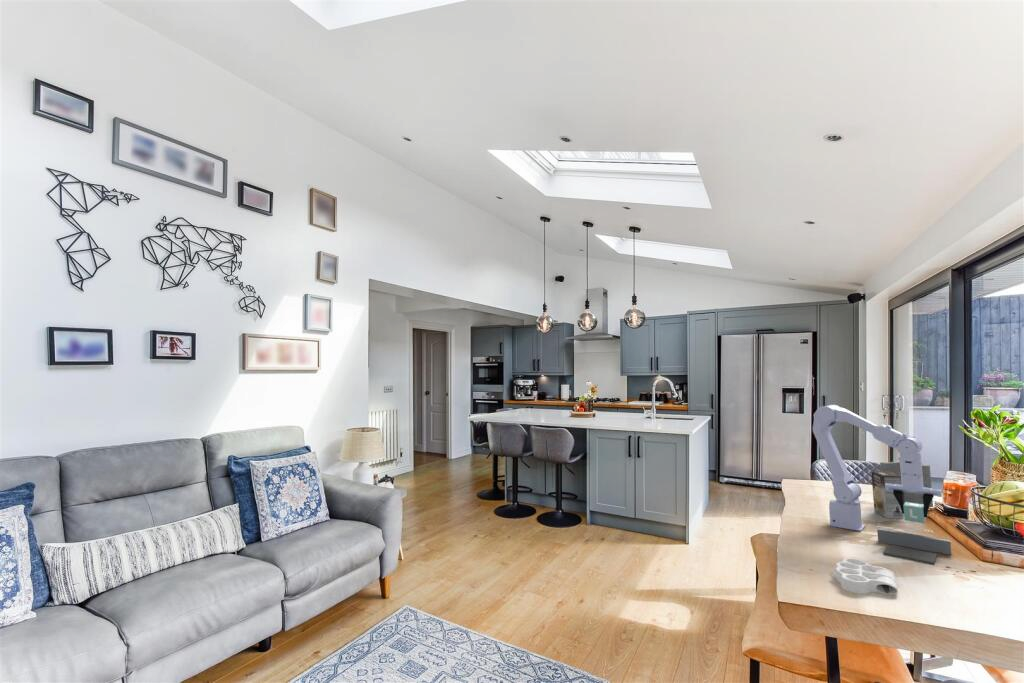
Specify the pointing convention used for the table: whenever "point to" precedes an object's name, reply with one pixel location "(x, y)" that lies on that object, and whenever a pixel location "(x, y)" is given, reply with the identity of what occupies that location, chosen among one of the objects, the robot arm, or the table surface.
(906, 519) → the letter cube
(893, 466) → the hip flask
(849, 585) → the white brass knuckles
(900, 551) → the mat
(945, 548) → the panel
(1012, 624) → the table surface
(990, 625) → the table surface
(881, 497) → the coffee box
